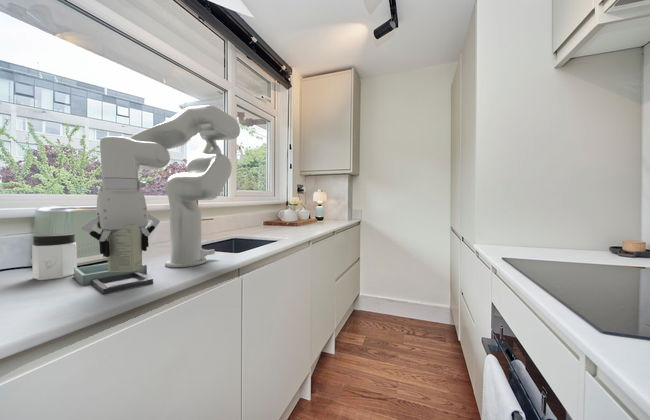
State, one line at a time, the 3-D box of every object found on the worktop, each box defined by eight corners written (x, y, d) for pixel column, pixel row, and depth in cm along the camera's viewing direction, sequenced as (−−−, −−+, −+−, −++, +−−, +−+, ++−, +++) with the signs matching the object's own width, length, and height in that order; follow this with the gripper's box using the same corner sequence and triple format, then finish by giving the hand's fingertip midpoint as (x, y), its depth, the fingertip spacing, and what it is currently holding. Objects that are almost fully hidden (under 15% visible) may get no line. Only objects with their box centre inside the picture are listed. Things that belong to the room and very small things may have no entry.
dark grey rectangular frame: (137, 275, 73) (137, 271, 73) (153, 283, 66) (153, 278, 66) (91, 284, 65) (91, 279, 65) (103, 294, 58) (103, 289, 58)
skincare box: (142, 267, 69) (143, 224, 69) (133, 272, 65) (134, 225, 64) (116, 268, 68) (117, 223, 68) (105, 272, 63) (106, 224, 63)
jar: (26, 282, 66) (25, 237, 66) (38, 275, 73) (37, 234, 73) (73, 277, 71) (72, 235, 71) (80, 270, 78) (79, 232, 78)
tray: (133, 267, 83) (133, 259, 82) (146, 273, 75) (146, 265, 75) (73, 276, 71) (73, 268, 71) (82, 285, 64) (82, 275, 64)
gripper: (154, 186, 74) (157, 245, 75) (72, 185, 60) (77, 257, 62) (164, 186, 70) (167, 249, 71) (78, 184, 56) (83, 262, 57)
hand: (125, 252), depth 66 cm, fingers closed on skincare box, 7 cm apart
